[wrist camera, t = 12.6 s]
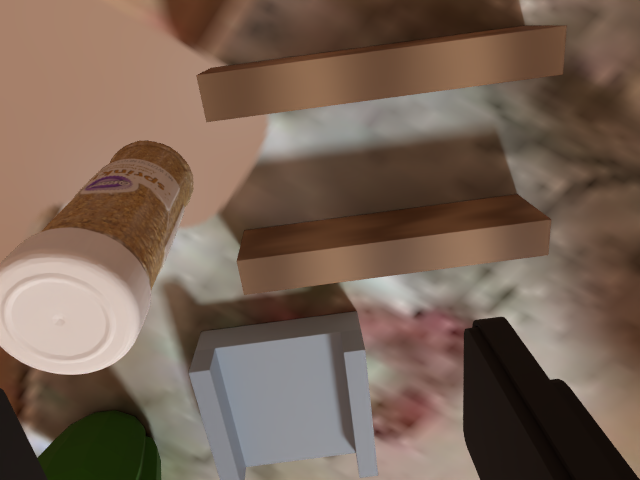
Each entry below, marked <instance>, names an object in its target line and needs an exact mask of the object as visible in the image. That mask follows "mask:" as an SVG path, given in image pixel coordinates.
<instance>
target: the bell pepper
mask: <svg viewBox="0 0 640 480" xmlns="http://www.w3.org/2000/svg"><path fill="white" fill-rule="evenodd" d="M37 459H38V461H39V463H40V465H41V467H42V469H43V471H44V473H45V475H46V477H47V479H48V480H161V460H160V456H159V453H158V449H157V446H156V444H155V442H154V440H153V439H152V438H150V437H147V436H145V429H144V427H143V425H142V424H141V423H140V422H139V421H138V420H137V419H136V417H134V416H131V415H128V414H125V413H122V412H119V411H116V410H113V411H104V412H95V413H93V414H91V415H89V416H87V417H85V418H83V419H81V420H79V421H77V422H75V423H73V424H71V425H70V426H69V427H68V428H67V429H66V430H65V431H64V432H62V433H61V434H60V435H59V436H58V437H57V438H56V439H55V440H54V441H53V442H52V443H51V444H50V445H49V446H48V447H47V448H46V449H45V451H44V452H43V453H42V454H41V455H40V456H39V457H38V458H37Z"/></svg>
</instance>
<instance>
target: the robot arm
mask: <svg viewBox="0 0 640 480" xmlns="http://www.w3.org/2000/svg"><path fill="white" fill-rule="evenodd" d="M463 431H464V438H465V442H466V445H467V448H468V451H469V453H470V456H471V458H472V461H473V463H474V465H475V468H476V470H477V473H478V475H479V478H480V480H640V479H639V478H638V477H637V475H636V474H635V473H634V472H633V470H632V469H631V468H630V466H629V465H628V464H627V462H626V461H625V460H624V458H623V457H622V456H621V454H620V453H619V452H618V450H617V449H616V448H615V447H614V445H613V444H612V443H611V441H610V440H609V439H608V437H607V436H606V435H605V433H604V432H603V431H602V429H601V428H600V427H599V425H598V424H597V423H596V421H595V420H594V419H593V418H592V416H591V415H590V414H589V412H588V411H587V410H586V408H585V407H584V406H583V404H582V403H581V402H580V400H579V399H578V398H577V396H576V395H575V394H574V393H573V391H572V390H571V389H570V387H569V386H568V385H567V384H566V383H565V382H564V381H562V380H560V379H553V380H550V379H549V378H548V376H547V375H546V374H545V372H544V371H543V369H542V368H541V367H540V365H539V364H538V363H537V361H536V360H535V358H534V357H533V356H532V354H531V353H530V351H529V350H528V349H527V347H526V346H525V344H524V343H523V342H522V340H521V339H520V338H519V336H518V335H517V333H516V332H515V331H514V329H513V328H512V326H511V325H510V324H509V322H508V321H507V320H506V319H505V318H504V317H496V318H488V319H480V320H475V321H474V322H473V326H472V328H467V329H465V331H464V396H463ZM0 480H48V479H47V477H46V475H45V473H44V471H43V469H42V467H41V465H40V463H39V461H38V459H37V457H36V455H35V453H34V451H33V449H32V447H31V445H30V443H29V441H28V439H27V436H26V434H25V432H24V430H23V428H22V426H21V424H20V422H19V420H18V418H17V416H16V414H15V412H14V410H13V408H12V406H11V404H10V402H9V400H8V398H7V396H6V394H5V392H4V391H3V390H2V389H1V388H0Z"/></svg>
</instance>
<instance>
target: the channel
mask: <svg viewBox="0 0 640 480" xmlns="http://www.w3.org/2000/svg"><path fill="white" fill-rule="evenodd" d="M566 28H567V26H519V27H511V28H504V29H496V30H489V31H481V32H474V33H467V34H459V35H452V36H444V37H437V38H429V39H422V40H415V41H407V42H400V43H392V44H385V45H377V46H370V47H363V48H355V49H348V50H340V51H333V52H325V53H318V54H311V55H303V56H296V57H288V58H281V59H273V60H266V61H259V62H251V63H244V64H236V65H229V66H221V67H214V68H210V69H208V70H206V71H205V72H202V73H200V74H198V75H197V80H198V85H199V90H200V94H201V99H202V103H203V108H204V113H205V117H206V122H211V121H217V120H226V119H233V118H240V117H248V116H255V115H263V114H271V113H278V112H286V111H293V110H301V109H308V108H316V107H323V106H330V105H338V104H345V103H353V102H360V101H368V100H375V99H383V98H390V97H398V96H405V95H413V94H420V93H428V92H435V91H442V90H450V89H457V88H465V87H472V86H480V85H487V84H495V83H502V82H510V81H517V80H525V79H532V78H540V77H547V76H555V75H562V74H563V66H564V53H565V41H566ZM550 227H551V219H550V218H548V217H547V216H546V215H544V214H543V213H542V212H541V211H539V210H538V209H537V208H535V207H534V206H533V205H531V204H530V203H529V202H527V201H526V200H525V199H523V198H522V197H521V196H519V195H518V194H515V195H508V196H500V197H493V198H485V199H477V200H470V201H462V202H455V203H447V204H440V205H432V206H425V207H417V208H409V209H402V210H394V211H387V212H379V213H372V214H364V215H356V216H349V217H341V218H334V219H326V220H319V221H311V222H304V223H296V224H288V225H281V226H273V227H266V228H258V229H251V230H244V234H243V238H242V242H241V246H240V250H239V254H238V258H237V264H238V269H239V274H240V278H241V283H242V287H243V292H244V295H247V294H255V293H262V292H270V291H278V290H285V289H293V288H300V287H308V286H316V285H323V284H331V283H338V282H346V281H354V280H361V279H369V278H376V277H384V276H392V275H399V274H407V273H415V272H422V271H430V270H437V269H445V268H453V267H460V266H468V265H475V264H483V263H491V262H498V261H506V260H513V259H521V258H529V257H536V256H544V255H548V252H549V240H550Z"/></svg>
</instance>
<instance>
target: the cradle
mask: <svg viewBox="0 0 640 480" xmlns="http://www.w3.org/2000/svg"><path fill="white" fill-rule="evenodd" d="M189 376H190V379H191V383H192V386H193V390H194V393H195V396H196V400H197V403H198V407H199V410H200V413H201V417H202V420H203V423H204V427H205V430H206V434H207V437H208V440H209V444H210V447H211V451H212V454H213V457H214V461H215V464H216V467H217V471H218V474H219V478H220V480H245V471H246V467H250V466H258V465H265V464H273V463H281V462H289V461H296V460H304V459H312V458H320V457H327V456H335V455H343V454H351V453H356V456H357V463H358V470H359V477H360V478H363V477H370V476H378V470H377V460H376V450H375V441H374V431H373V421H372V412H371V402H370V392H369V383H368V373H367V363H366V354H365V347H364V342H363V338H362V333H361V329H360V324H359V319H358V315H357V311H355V312H347V313H339V314H332V315H324V316H316V317H309V318H301V319H293V320H286V321H278V322H271V323H263V324H255V325H248V326H240V327H232V328H225V329H217V330H209V331H202V332H201V334H200V337H199V340H198V344H197V347H196V350H195V353H194V357H193V360H192V363H191V367H190V370H189Z"/></svg>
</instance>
